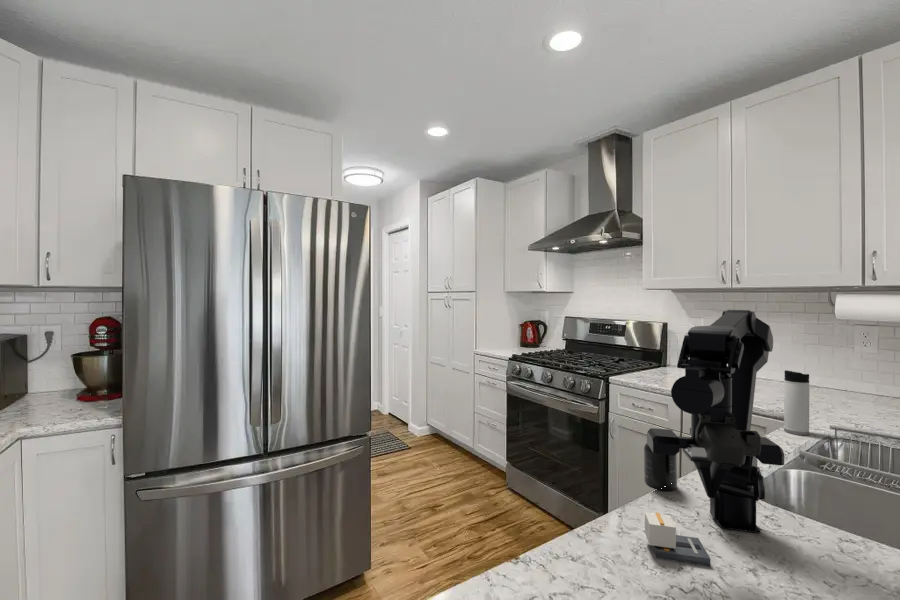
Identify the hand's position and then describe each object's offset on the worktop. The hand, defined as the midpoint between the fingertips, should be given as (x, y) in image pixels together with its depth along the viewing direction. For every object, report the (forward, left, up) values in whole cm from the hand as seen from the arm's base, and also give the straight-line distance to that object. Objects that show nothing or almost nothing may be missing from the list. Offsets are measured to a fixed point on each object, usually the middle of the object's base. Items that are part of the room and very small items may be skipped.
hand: (710, 497), depth 70 cm
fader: (+8, 0, -9) cm, 11 cm away
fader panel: (+5, 0, -10) cm, 11 cm away
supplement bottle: (+2, -27, -10) cm, 29 cm away
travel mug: (-50, -81, -10) cm, 95 cm away
